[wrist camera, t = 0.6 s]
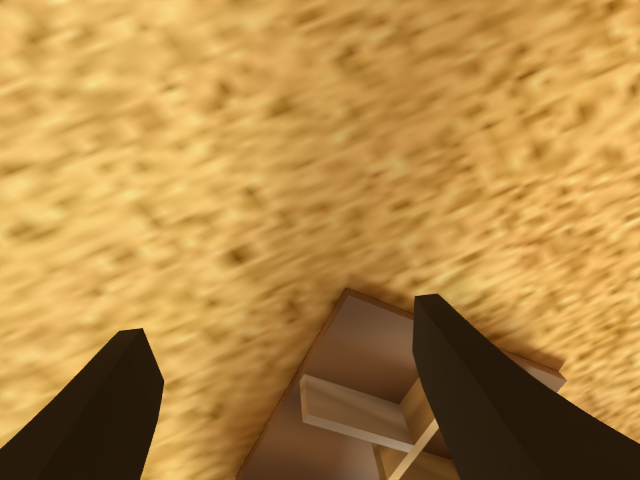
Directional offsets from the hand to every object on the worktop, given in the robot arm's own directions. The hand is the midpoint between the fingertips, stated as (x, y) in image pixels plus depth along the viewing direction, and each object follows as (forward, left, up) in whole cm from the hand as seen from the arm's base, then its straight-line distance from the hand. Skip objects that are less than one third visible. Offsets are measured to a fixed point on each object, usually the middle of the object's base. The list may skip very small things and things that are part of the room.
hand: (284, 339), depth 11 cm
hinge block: (-11, -13, -11) cm, 20 cm away
